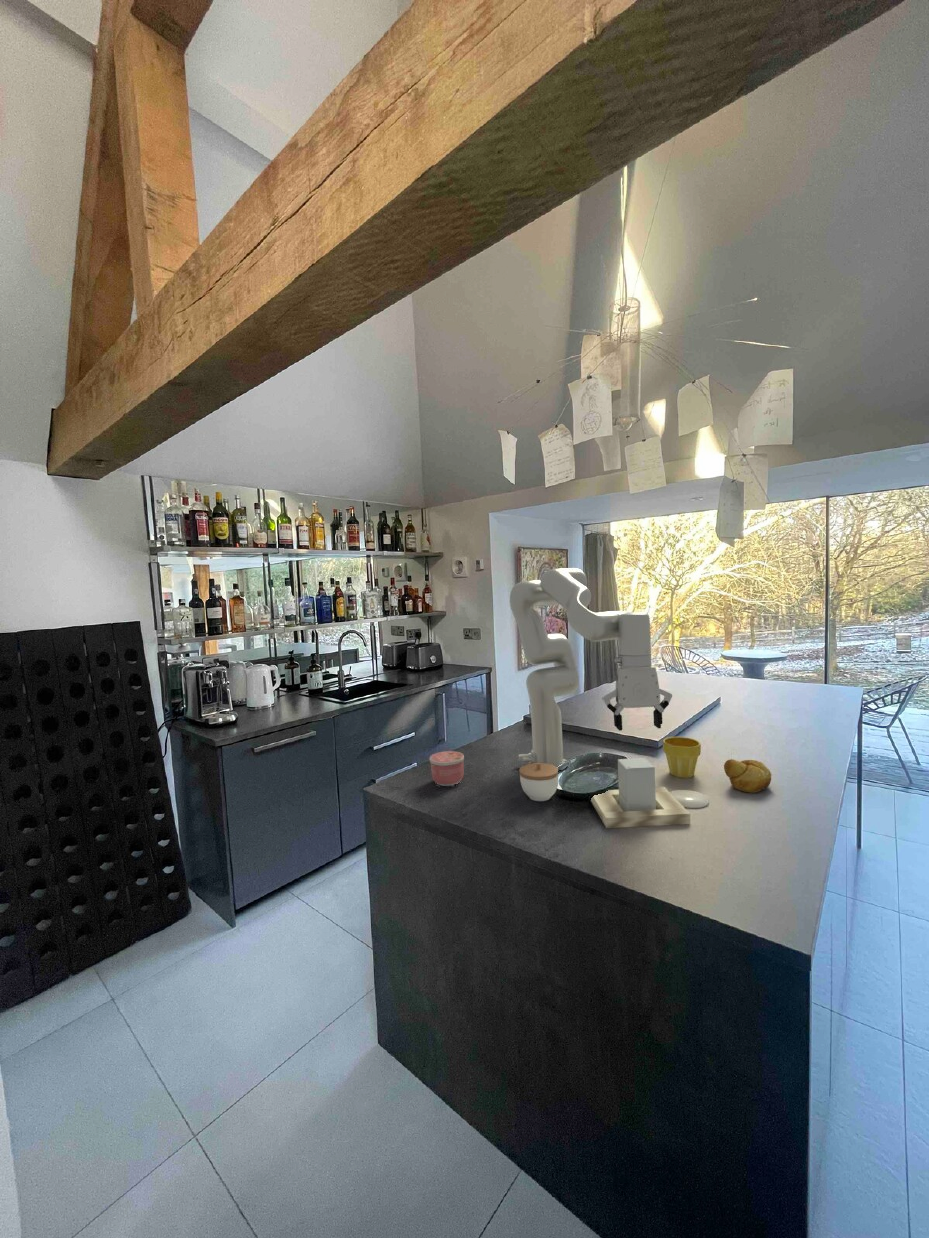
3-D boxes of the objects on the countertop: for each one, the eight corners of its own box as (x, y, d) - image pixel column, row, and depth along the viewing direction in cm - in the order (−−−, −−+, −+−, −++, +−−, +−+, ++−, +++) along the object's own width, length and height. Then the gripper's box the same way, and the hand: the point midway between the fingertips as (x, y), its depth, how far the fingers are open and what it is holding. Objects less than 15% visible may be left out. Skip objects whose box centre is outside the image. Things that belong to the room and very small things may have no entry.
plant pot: (703, 770, 155) (702, 738, 155) (699, 782, 146) (698, 748, 146) (666, 765, 161) (665, 734, 160) (660, 777, 152) (659, 744, 151)
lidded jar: (561, 789, 146) (559, 757, 146) (557, 806, 136) (556, 771, 136) (523, 787, 149) (522, 756, 149) (517, 803, 139) (515, 769, 138)
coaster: (676, 809, 131) (676, 806, 131) (661, 793, 141) (661, 790, 141) (716, 807, 130) (716, 804, 130) (698, 791, 140) (698, 789, 140)
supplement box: (657, 817, 127) (655, 767, 126) (626, 818, 127) (625, 768, 126) (647, 804, 134) (645, 757, 133) (618, 805, 134) (616, 758, 134)
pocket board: (606, 828, 123) (606, 817, 123) (590, 800, 139) (589, 790, 139) (690, 823, 123) (690, 813, 122) (664, 796, 139) (664, 787, 138)
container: (458, 790, 150) (457, 763, 150) (425, 787, 154) (423, 761, 153) (469, 777, 160) (468, 751, 160) (438, 774, 164) (437, 750, 163)
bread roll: (748, 776, 149) (748, 749, 148) (783, 786, 141) (782, 758, 140) (720, 787, 143) (720, 758, 142) (755, 798, 134) (754, 768, 134)
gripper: (604, 665, 126) (608, 734, 127) (676, 661, 126) (678, 730, 127) (597, 661, 134) (600, 726, 135) (664, 657, 133) (667, 722, 134)
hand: (638, 728), depth 131 cm, fingers open, 9 cm apart
